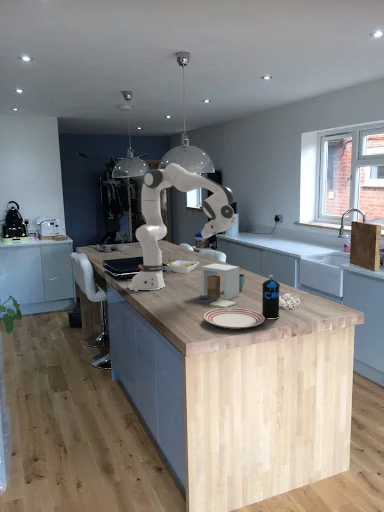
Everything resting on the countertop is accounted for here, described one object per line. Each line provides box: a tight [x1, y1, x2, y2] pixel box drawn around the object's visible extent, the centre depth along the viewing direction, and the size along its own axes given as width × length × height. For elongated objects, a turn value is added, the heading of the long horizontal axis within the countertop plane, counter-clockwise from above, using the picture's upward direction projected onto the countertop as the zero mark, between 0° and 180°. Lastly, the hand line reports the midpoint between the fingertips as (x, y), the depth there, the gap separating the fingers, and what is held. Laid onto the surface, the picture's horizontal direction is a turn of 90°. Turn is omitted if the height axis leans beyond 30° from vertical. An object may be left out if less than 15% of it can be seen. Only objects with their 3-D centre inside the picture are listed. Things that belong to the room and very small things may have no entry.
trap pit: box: [192, 295, 217, 305], centre depth 233 cm, size 9×9×1 cm
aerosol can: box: [261, 274, 281, 318], centre depth 202 cm, size 8×8×20 cm
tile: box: [209, 298, 238, 308], centre depth 226 cm, size 10×10×1 cm
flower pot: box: [239, 273, 247, 292], centre depth 254 cm, size 9×9×9 cm
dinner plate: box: [203, 307, 266, 330], centre depth 197 cm, size 27×27×3 cm
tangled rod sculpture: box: [279, 293, 301, 309], centre depth 224 cm, size 19×14×4 cm
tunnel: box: [201, 262, 240, 301], centre depth 242 cm, size 12×17×16 cm
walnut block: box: [206, 275, 221, 300], centre depth 238 cm, size 5×5×12 cm
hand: (215, 232), depth 249 cm, fingers open, 8 cm apart
